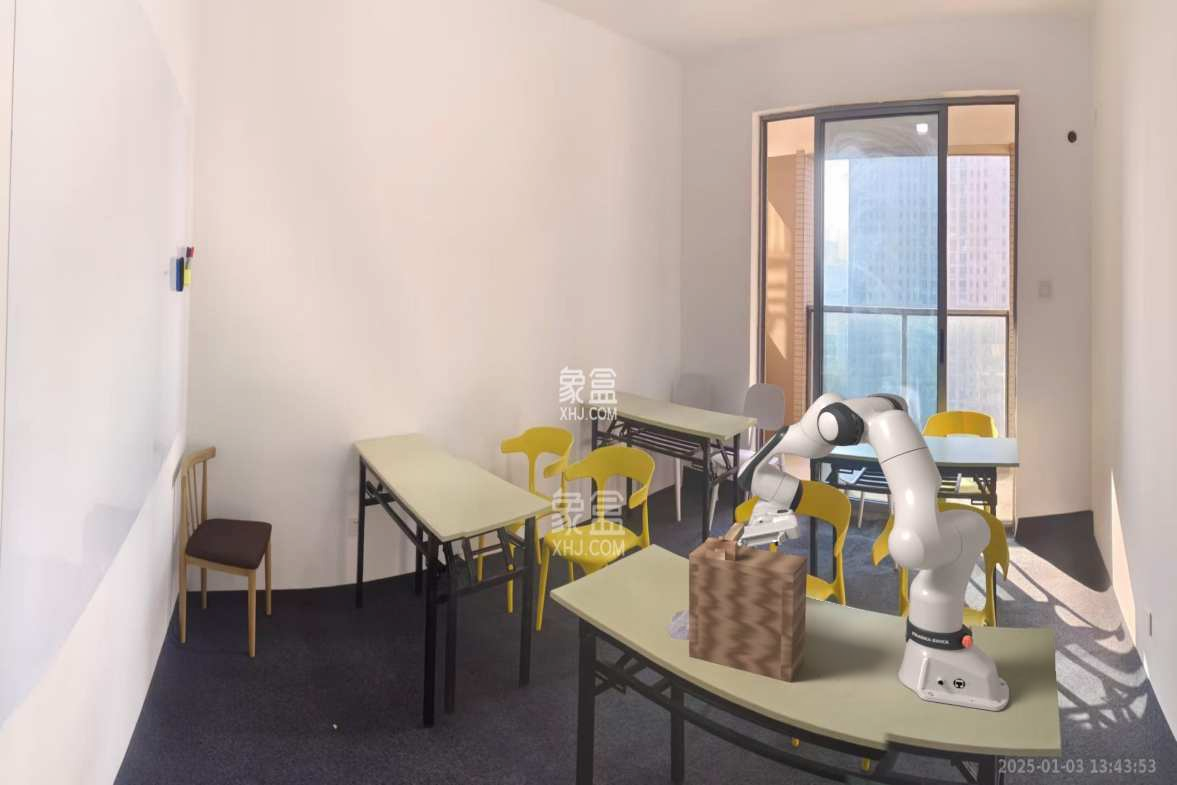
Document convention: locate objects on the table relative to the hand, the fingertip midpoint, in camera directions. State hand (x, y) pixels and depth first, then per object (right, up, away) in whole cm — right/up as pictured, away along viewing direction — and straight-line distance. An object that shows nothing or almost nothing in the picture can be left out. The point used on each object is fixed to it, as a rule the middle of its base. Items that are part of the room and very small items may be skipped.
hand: (759, 546), depth 203 cm
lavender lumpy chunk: (-18, -22, +1) cm, 29 cm away
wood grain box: (-7, -24, -15) cm, 29 cm away
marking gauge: (-10, +3, -12) cm, 16 cm away
